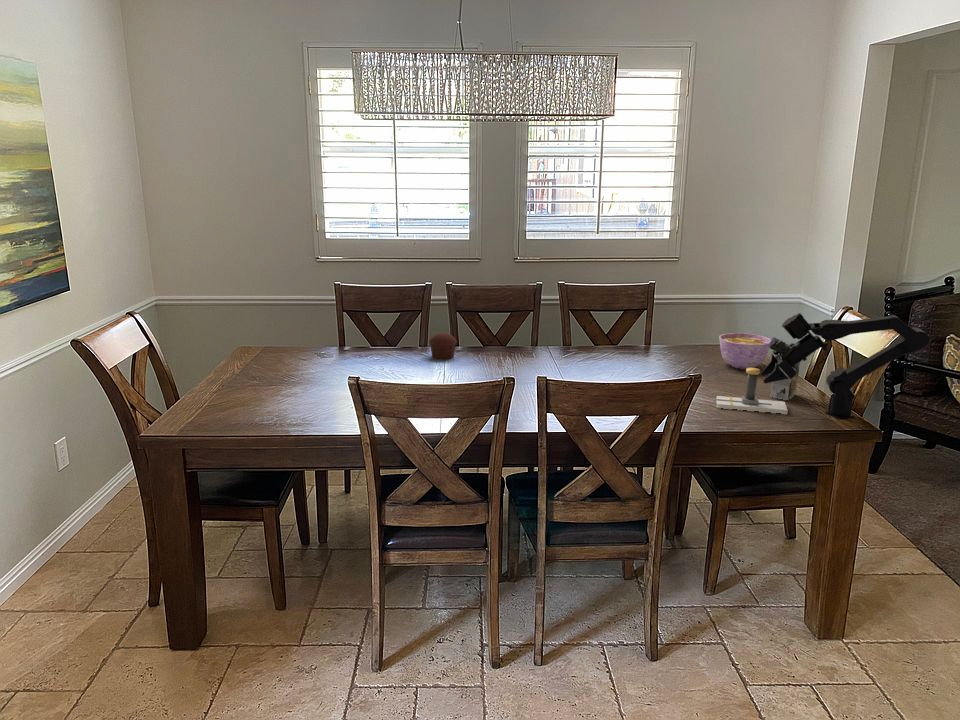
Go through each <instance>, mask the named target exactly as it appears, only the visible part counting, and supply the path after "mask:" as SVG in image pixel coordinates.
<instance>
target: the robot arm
mask: <svg viewBox="0 0 960 720" xmlns="http://www.w3.org/2000/svg"><path fill="white" fill-rule="evenodd" d="M781 327H782V328H783V329H784V330H785V331H786V332H787V333H788V335H790V337H791V338H792V339H794V340H795V339H797V340H798V341H797V342H792V343H790V344H787V343H786V342H784V341H782V340H780V339H778V338H777V337H775V336H774V337H772V338H771V339H770V340H771V342H770V343H769V345H768V346H769V350H772V353H771V359H770V361H769V362H768V364H767V365H766V366H765V368H764V369H763V370H762V371H760V375H761V376H763V377H764V376H765V378H764V379H763V383H764V384H769V383H772V382H774V381H779V380H784V379H789V378H790V379H792V378H793V377H795V376H796V370H795V369H794V368H796V365H797V364H798V363H801V362H806V361H807V360H808V357H809V356H811V355H812V354H814V353H815V352H817V350H819V349H820V348H821V349H822V350H823V351H824V352H825V353H826V352H827V351H828V346H829V343H828V342H832V341H835V340H840V339H842V338H845V337H848V336H850V335H854V334H857V335H858V334H864V333H871V332H872V333H873V332H879V331H880V332H881V331H889V330H892V331H893V332H896V334H898V336H897V337H896V339H895V340H894V341H893V342H892V343H891V344H888V345H887V346H886V347H884V348H882V349H880V350H879V351H877V352H876V353H874V354H872V355H870V356H868V357H867V358H865V359H863V360H861V361H860V362H858V363H856V364H855V365H852V367H848V368H844V366H842V365H840V366H839V367H838V368H836V369H835V370H831V371H830V372H829V375H827V377H826V381H825V383H826V385H827V387H828V389H829V391H830V392H831V393H832V394H830V398H829V403H828V409H827V410H825V411H824V413H825V414H827V415H830V416H831V417H834V418H837V419H846V418H847V419H849V418H855V414H854V413H853V414H852V410H853V402H854V400H855V398H856V395H855V393H854V392H853V390H852V388H853V387H854V386H855V385H856V384H857V383H858V382H859V381H860V380H861V379H862V378H865V377H866V376H869V374H871V373H874V372H875V371H876V370H878V369H879V368H882V367H883V366H885V365H887V364H889V363H891V362H892V361H894V360H895V359H898V358H900V357H901V356H903V355H907V354H913V353H916V352H919V351H920V350H923V349H925V348H926V347H928V345H929V342H930V337H929V336H928V334H927V333H926V332H925V331H923V330H922V329H921V328H919V327H914V326H913V327H912V326H910V325H908V323H905V322H904V321H903V320H901V318H899V317H898V316H897V315H895V314H889V315H887V316H886V315H885V316H879V317H877V316H876V317H871V318H864V319H855V320H841V319H824V320H822V321H820V322H813V323H812V322H811V323H810V322H808V321H807V320H806V319H805V317H804V316H803V314H802V313H801V312H798V313H797V314H795V315H792V316H791V317H788V318H787V319H786V320H785V321H784V322H783V323H782V325H781ZM810 331H811V332H810ZM813 334H814V335H813ZM822 339H823V340H825V341H823V340H822ZM827 341H828V342H827Z"/></svg>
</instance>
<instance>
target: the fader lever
mask: <svg viewBox="0 0 960 720" xmlns="http://www.w3.org/2000/svg"><path fill="white" fill-rule="evenodd" d="M745 373H746V374H747V379H746V380H747V381H746V389H745V395H742V396H741V398H742V403H748V404H758V400H759V398H758V397H756V392H757V384H758V383H757V382H758V375H761V369H760V368H757V367H753V368H746V369H745Z"/></svg>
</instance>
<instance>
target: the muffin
mask: <svg viewBox="0 0 960 720" xmlns="http://www.w3.org/2000/svg"><path fill="white" fill-rule="evenodd" d="M428 343H429V345H430V350H431V356H432V358H433V360H434V359H435V360H445V361H446V360H451V359H452V358H454V355H455V350H456V345H457V343H458V341H457V339H456V337H454V336H453V335H452V334H450V333H447V332H438V333H435V334H434V335H432V336H431V338H430V339H429V341H428Z"/></svg>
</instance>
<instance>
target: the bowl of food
mask: <svg viewBox="0 0 960 720" xmlns="http://www.w3.org/2000/svg"><path fill="white" fill-rule="evenodd" d="M718 340H719V347H720V353H721V357H722V359H723V360H724V362H726V363H727V364H729V365H730V366H731V367H732V368H734V367H735V368H734V369H738V368H740V370H746V368H757V367H758V366H760V365H762V364H763V363H764V362H765V361H766V358H767V355H768V353H769V350H770V348H769V346H768V345H769V343H770V342H771V340H772V339H771V338H769V337H767V336H763V335H759V334H754V333H753V334H752V333H744V332H733V333H732V332H730V333H724V334H719V336H718Z"/></svg>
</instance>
